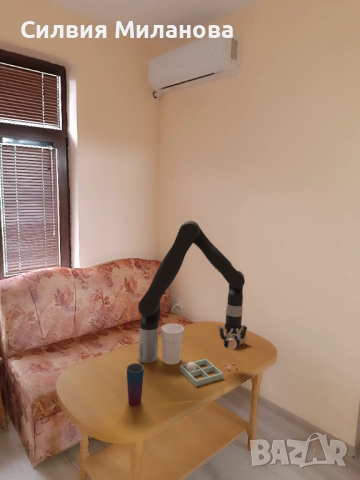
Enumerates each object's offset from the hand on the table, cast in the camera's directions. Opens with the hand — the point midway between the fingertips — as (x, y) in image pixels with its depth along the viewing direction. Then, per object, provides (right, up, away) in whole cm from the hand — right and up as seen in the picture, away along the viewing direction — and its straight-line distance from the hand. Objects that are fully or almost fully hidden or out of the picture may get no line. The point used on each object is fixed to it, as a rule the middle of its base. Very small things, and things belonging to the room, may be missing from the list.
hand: (231, 346), depth 155 cm
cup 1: (-43, -14, -26) cm, 52 cm away
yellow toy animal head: (+6, -8, +27) cm, 29 cm away
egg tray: (-15, -12, -5) cm, 20 cm away
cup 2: (-29, -10, +7) cm, 32 cm away
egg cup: (0, -11, +2) cm, 11 cm away
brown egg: (0, -1, 0) cm, 1 cm away
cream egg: (-20, -11, -4) cm, 23 cm away
